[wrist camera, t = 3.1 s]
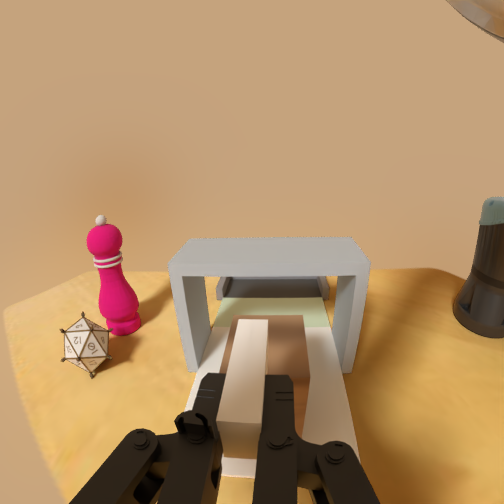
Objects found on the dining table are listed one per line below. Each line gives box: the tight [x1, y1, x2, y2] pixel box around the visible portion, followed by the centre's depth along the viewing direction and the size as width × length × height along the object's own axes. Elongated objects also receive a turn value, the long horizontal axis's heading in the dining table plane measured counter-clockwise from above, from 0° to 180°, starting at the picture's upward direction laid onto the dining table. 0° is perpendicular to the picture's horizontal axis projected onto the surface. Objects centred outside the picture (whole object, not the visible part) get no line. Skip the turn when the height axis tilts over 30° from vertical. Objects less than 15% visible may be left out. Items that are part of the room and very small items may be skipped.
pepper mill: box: [87, 215, 141, 336], centre depth 43 cm, size 7×7×20 cm
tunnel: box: [168, 237, 371, 478], centre depth 30 cm, size 26×22×16 cm
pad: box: [213, 297, 330, 327], centre depth 49 cm, size 12×19×1 cm, turn 86°
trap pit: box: [216, 276, 329, 300], centre depth 59 cm, size 10×21×2 cm, turn 86°
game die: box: [60, 312, 113, 378], centre depth 35 cm, size 9×8×10 cm
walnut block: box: [219, 315, 310, 439], centre depth 26 cm, size 9×7×11 cm
